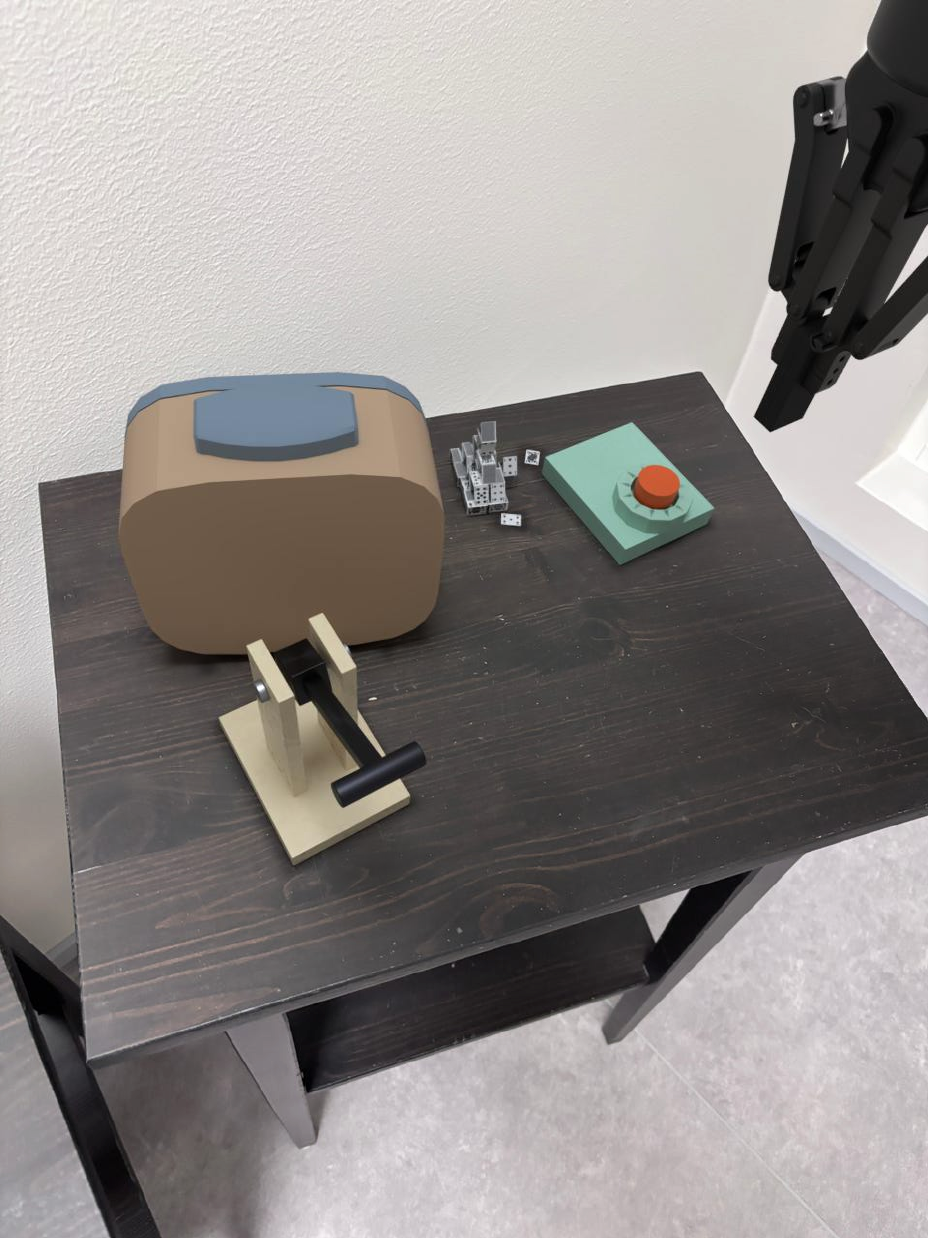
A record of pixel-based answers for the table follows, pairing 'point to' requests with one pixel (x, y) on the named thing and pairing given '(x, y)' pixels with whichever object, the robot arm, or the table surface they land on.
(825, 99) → the robot arm
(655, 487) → the button
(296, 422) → the alarm clock
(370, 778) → the lever
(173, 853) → the table surface
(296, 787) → the hinged lever switch
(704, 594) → the table surface
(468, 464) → the house of cards
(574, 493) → the button box
